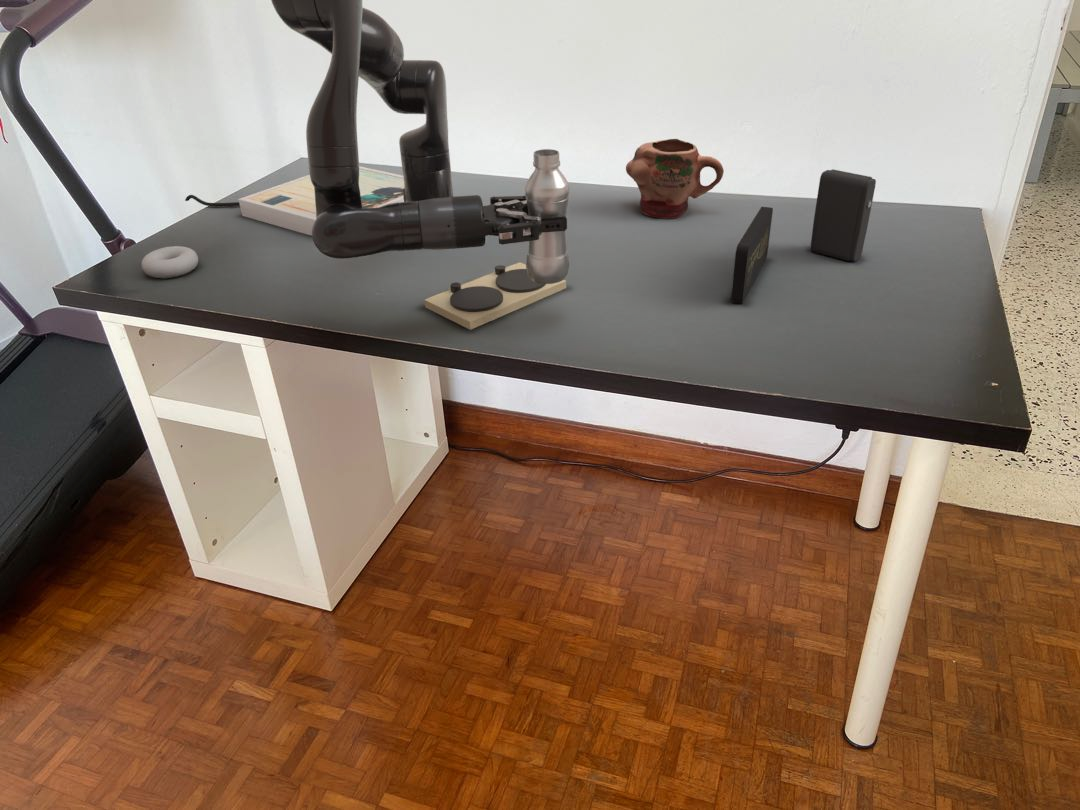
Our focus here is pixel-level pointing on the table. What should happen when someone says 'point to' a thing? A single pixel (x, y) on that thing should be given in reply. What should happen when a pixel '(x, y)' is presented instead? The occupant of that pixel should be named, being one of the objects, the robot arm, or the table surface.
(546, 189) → the silver bottle
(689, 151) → the animal head mug
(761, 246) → the nameplate
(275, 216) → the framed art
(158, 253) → the donut
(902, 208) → the table surface
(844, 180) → the dark grey upright block
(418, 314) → the table surface
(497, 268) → the hob
